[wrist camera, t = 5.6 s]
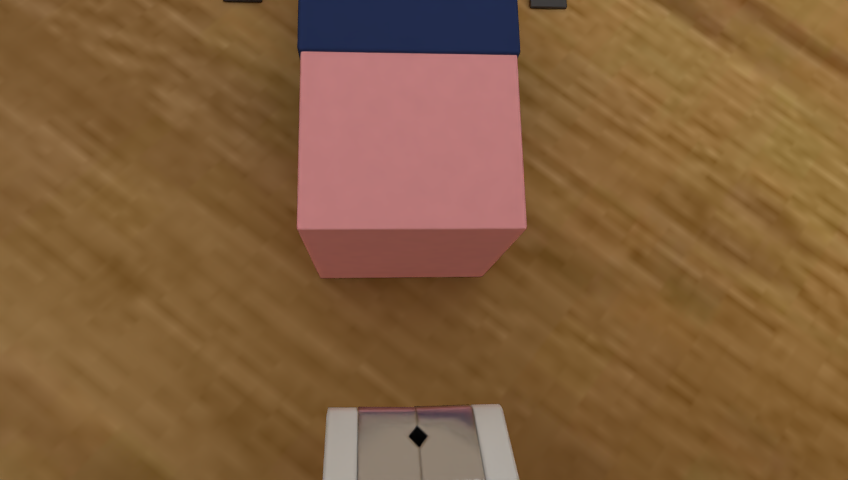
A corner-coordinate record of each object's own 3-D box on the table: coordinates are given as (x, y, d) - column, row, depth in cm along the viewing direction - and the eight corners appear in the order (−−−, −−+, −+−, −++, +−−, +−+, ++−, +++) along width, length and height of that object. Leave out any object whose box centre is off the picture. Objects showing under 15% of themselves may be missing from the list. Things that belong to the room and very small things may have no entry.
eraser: (484, 276, 25) (531, 228, 17) (317, 278, 24) (292, 228, 17) (471, -33, 28) (507, -187, 20) (322, -37, 27) (302, -196, 20)
